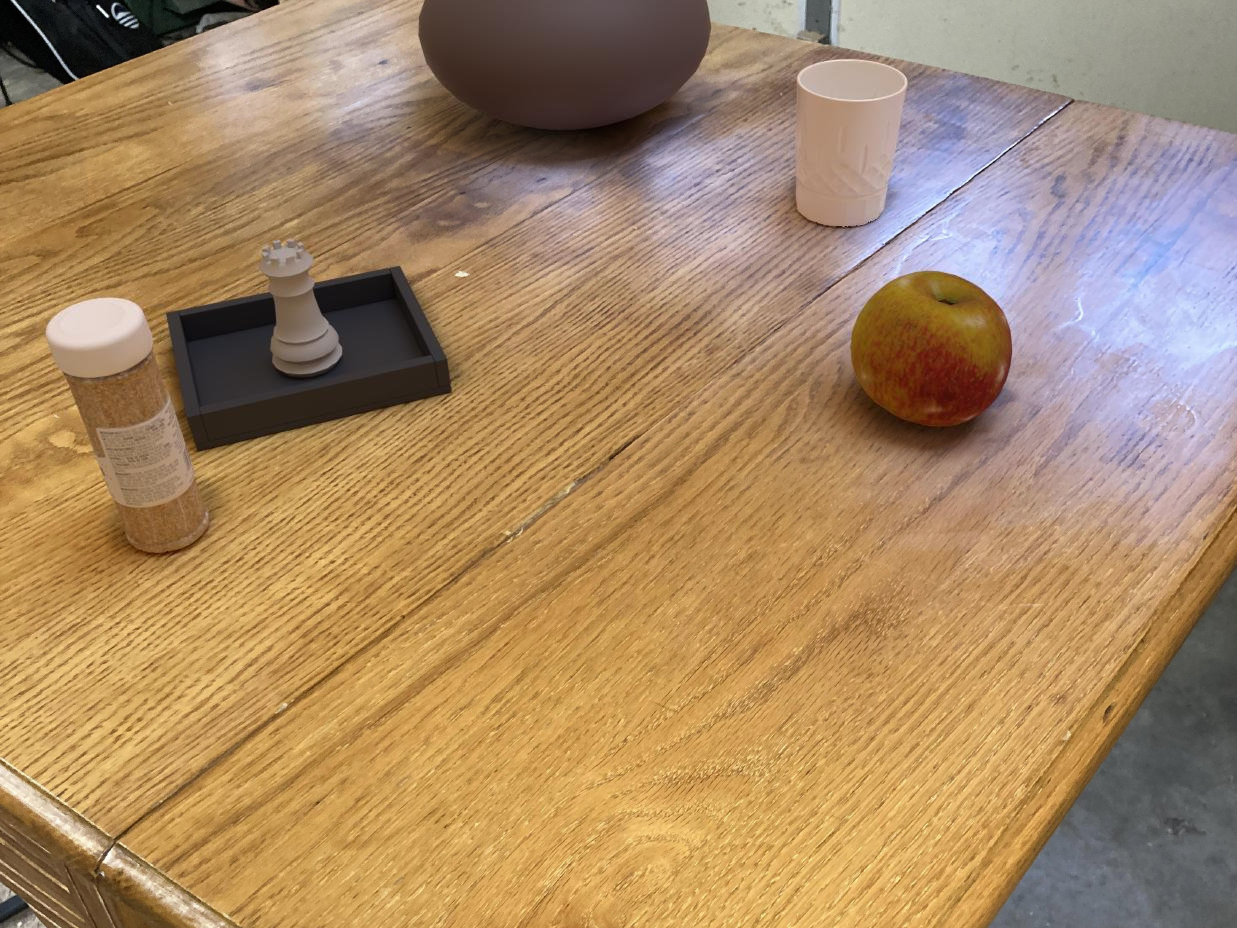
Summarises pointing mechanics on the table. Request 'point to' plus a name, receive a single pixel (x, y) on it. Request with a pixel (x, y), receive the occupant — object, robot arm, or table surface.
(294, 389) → the tray
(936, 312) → the fruit
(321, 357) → the rook chess piece
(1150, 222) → the table surface
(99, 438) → the sprinkles bottle
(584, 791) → the table surface
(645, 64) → the flattened ellipsoid
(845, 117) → the pale pink cup
